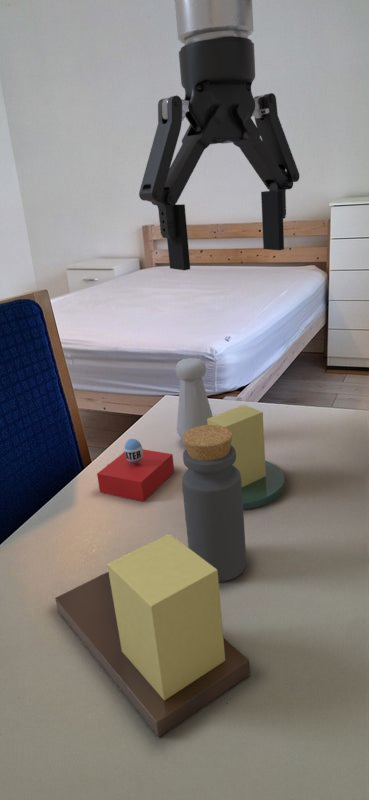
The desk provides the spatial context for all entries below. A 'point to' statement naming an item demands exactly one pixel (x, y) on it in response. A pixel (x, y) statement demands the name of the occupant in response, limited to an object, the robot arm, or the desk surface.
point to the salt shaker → (191, 396)
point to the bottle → (214, 500)
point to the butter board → (99, 632)
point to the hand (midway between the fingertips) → (229, 258)
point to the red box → (135, 472)
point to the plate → (264, 488)
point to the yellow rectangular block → (245, 440)
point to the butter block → (168, 613)
